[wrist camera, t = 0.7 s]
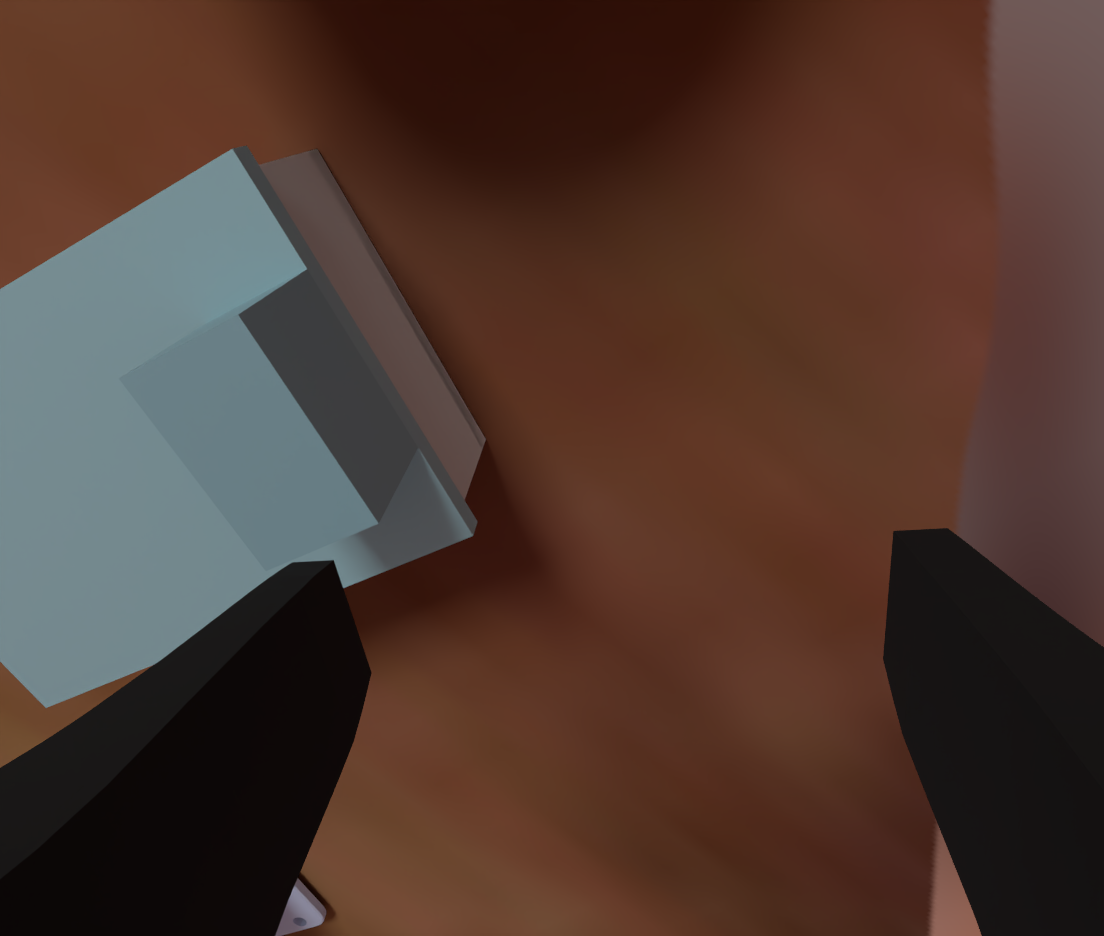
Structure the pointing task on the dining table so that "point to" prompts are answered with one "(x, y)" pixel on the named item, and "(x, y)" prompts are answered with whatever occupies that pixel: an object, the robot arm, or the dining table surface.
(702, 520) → the dining table surface
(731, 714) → the dining table surface
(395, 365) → the tub
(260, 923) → the robot arm
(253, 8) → the dining table surface
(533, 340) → the dining table surface
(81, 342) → the lid
